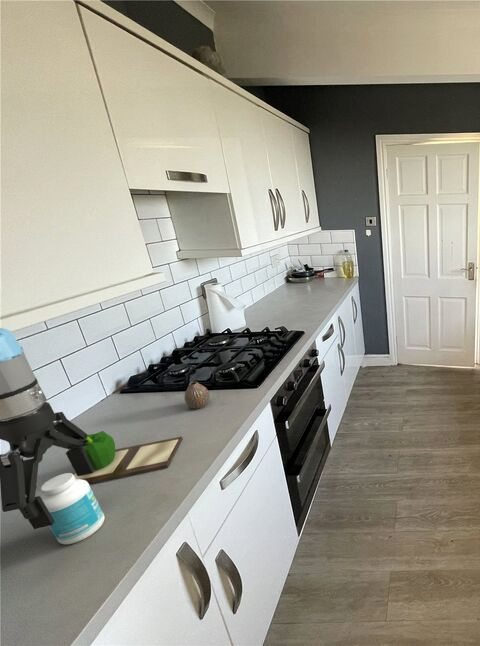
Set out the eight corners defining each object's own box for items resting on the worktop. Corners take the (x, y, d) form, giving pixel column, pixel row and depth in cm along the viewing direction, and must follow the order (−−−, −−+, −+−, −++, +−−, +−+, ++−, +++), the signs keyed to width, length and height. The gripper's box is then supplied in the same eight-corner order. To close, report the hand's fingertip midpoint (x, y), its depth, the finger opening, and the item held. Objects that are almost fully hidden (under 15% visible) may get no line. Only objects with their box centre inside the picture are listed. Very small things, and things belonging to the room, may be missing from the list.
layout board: (63, 490, 85) (61, 486, 84) (91, 457, 95) (89, 453, 95) (167, 467, 91) (166, 464, 91) (182, 439, 102) (181, 435, 101)
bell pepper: (125, 449, 96) (112, 419, 93) (114, 469, 89) (100, 438, 86) (86, 459, 93) (71, 428, 90) (72, 480, 86) (55, 448, 82)
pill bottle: (113, 521, 76) (89, 474, 71) (69, 552, 70) (40, 501, 65) (95, 510, 79) (71, 463, 74) (51, 538, 73) (23, 489, 68)
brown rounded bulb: (214, 404, 118) (208, 382, 115) (191, 414, 113) (184, 391, 110) (207, 397, 122) (201, 375, 119) (185, 406, 117) (177, 384, 114)
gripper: (-10, 450, 54) (49, 546, 61) (83, 375, 76) (118, 452, 83) (-76, 462, 51) (-6, 560, 59) (40, 381, 74) (80, 460, 81)
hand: (67, 497), depth 71 cm, fingers open, 13 cm apart
